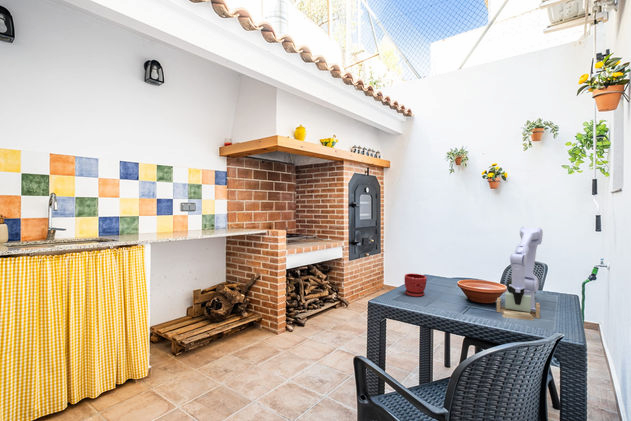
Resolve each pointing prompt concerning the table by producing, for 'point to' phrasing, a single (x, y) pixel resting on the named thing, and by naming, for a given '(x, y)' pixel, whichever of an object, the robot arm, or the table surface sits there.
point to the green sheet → (523, 306)
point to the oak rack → (534, 313)
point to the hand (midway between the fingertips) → (517, 303)
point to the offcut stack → (517, 315)
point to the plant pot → (415, 284)
